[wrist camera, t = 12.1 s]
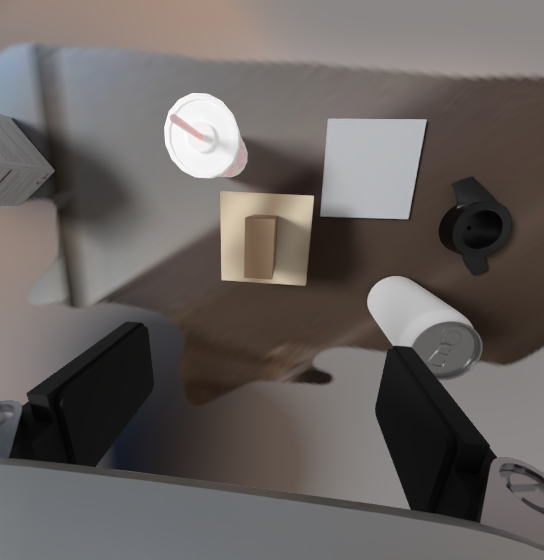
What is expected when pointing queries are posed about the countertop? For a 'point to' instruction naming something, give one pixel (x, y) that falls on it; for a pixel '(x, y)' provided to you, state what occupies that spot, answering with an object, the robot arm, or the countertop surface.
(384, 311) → the can
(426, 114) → the countertop surface
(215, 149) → the beverage cup
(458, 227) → the black winged knob
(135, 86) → the countertop surface
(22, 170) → the supplement box
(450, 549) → the robot arm
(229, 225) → the lid
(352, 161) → the mat
